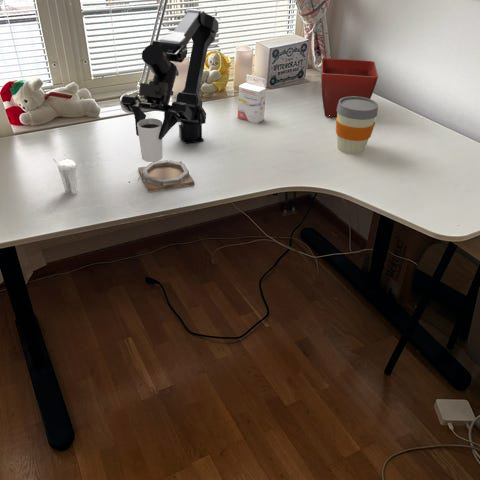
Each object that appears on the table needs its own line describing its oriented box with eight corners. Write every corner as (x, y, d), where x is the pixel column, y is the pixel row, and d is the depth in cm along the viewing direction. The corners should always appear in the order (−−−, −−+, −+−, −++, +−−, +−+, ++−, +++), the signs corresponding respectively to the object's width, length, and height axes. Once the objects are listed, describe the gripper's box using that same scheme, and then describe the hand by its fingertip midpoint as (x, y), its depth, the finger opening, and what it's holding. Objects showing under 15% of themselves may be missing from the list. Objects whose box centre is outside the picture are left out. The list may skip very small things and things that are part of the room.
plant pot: (316, 101, 203) (322, 57, 193) (366, 105, 201) (374, 60, 191) (315, 120, 187) (321, 73, 177) (369, 124, 185) (378, 77, 176)
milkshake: (61, 188, 142) (55, 154, 137) (81, 187, 143) (75, 154, 137) (58, 196, 139) (51, 162, 133) (78, 196, 139) (72, 162, 133)
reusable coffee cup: (378, 148, 169) (386, 103, 160) (356, 160, 162) (365, 114, 153) (345, 136, 176) (352, 93, 167) (323, 147, 168) (329, 102, 160)
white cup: (148, 165, 141) (145, 130, 135) (135, 155, 145) (132, 122, 139) (169, 158, 144) (167, 124, 138) (156, 149, 148) (154, 116, 142)
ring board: (181, 164, 156) (181, 157, 155) (194, 184, 146) (194, 177, 145) (138, 170, 152) (137, 163, 151) (148, 192, 142) (148, 184, 141)
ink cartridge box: (236, 118, 186) (238, 77, 178) (244, 114, 190) (245, 73, 181) (257, 124, 183) (259, 82, 174) (264, 119, 186) (267, 78, 178)
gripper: (119, 64, 136) (104, 120, 134) (186, 73, 132) (171, 131, 130) (136, 84, 147) (121, 136, 145) (198, 92, 142) (184, 146, 141)
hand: (148, 137), depth 140 cm, fingers closed on white cup, 6 cm apart
